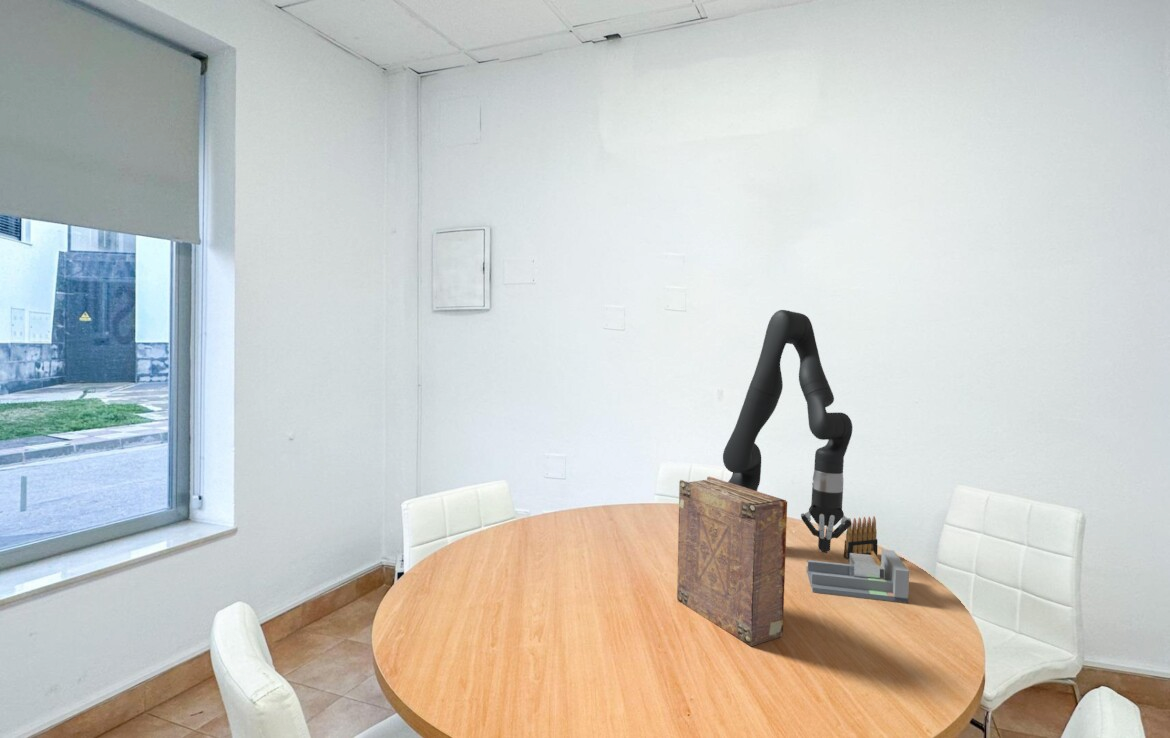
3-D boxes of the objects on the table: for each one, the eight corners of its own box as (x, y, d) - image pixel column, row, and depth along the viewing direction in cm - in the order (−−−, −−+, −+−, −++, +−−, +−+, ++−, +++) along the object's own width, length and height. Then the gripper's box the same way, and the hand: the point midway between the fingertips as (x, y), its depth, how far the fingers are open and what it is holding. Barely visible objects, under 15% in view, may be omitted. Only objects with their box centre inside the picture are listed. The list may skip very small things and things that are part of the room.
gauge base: (812, 592, 149) (813, 561, 148) (806, 570, 163) (807, 542, 163) (908, 603, 143) (909, 571, 143) (892, 579, 158) (893, 550, 157)
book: (676, 600, 143) (678, 479, 142) (705, 592, 148) (708, 475, 146) (751, 647, 121) (755, 505, 120) (783, 637, 126) (787, 500, 124)
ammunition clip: (873, 553, 177) (874, 515, 177) (877, 556, 175) (879, 516, 175) (843, 557, 174) (844, 517, 174) (847, 559, 172) (849, 519, 172)
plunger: (854, 586, 149) (855, 560, 149) (848, 573, 157) (849, 549, 157) (879, 589, 148) (880, 562, 147) (872, 576, 156) (873, 551, 155)
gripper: (802, 488, 152) (798, 553, 153) (857, 493, 148) (853, 560, 149) (799, 481, 159) (796, 543, 160) (852, 486, 155) (848, 550, 156)
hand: (824, 551), depth 155 cm, fingers closed
